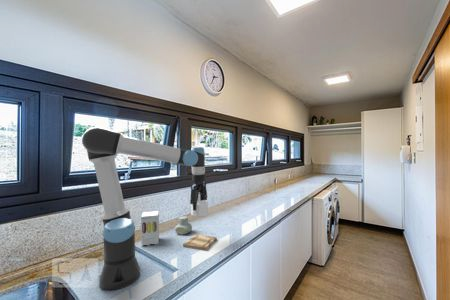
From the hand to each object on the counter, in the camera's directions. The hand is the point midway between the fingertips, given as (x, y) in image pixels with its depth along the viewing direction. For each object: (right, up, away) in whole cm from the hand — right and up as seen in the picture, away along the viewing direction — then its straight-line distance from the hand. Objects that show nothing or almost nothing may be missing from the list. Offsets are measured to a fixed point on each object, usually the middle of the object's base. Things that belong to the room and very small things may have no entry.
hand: (199, 213), depth 116 cm
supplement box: (-29, -18, +3) cm, 35 cm away
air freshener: (-12, -18, +16) cm, 27 cm away
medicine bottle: (0, -1, 0) cm, 1 cm away
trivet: (0, -17, 0) cm, 17 cm away
